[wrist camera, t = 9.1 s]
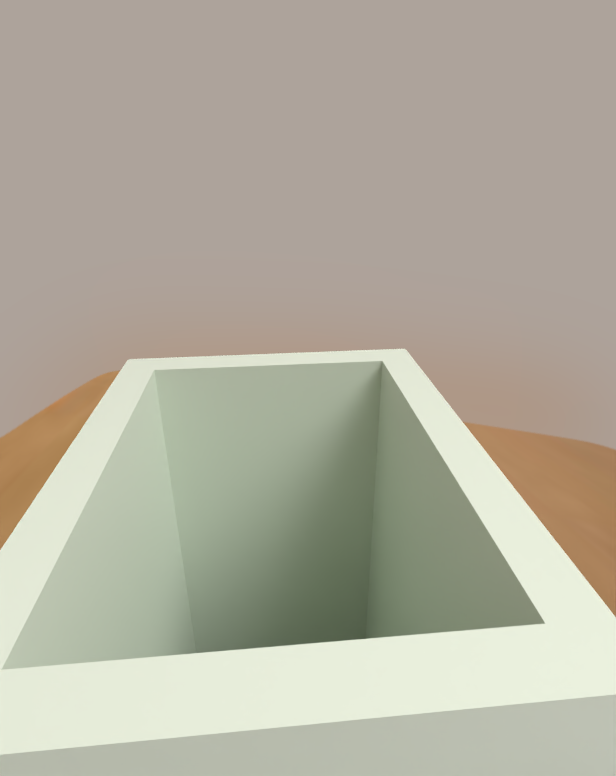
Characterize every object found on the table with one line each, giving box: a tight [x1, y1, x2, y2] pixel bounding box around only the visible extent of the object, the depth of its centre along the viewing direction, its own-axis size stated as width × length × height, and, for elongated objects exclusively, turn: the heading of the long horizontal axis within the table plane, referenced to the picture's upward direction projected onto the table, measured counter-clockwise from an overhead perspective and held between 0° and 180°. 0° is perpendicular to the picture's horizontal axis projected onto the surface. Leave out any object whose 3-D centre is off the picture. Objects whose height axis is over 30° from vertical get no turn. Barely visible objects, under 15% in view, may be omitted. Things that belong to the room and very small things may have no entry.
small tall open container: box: [0, 349, 616, 776], centre depth 9 cm, size 5×7×12 cm
